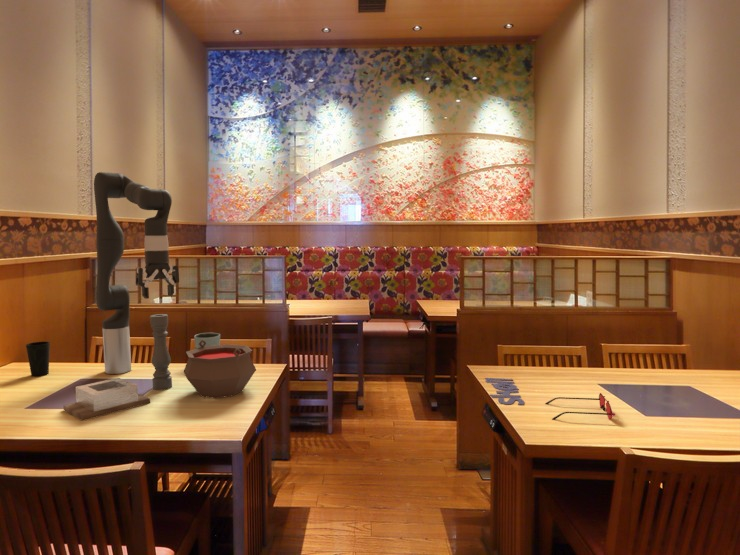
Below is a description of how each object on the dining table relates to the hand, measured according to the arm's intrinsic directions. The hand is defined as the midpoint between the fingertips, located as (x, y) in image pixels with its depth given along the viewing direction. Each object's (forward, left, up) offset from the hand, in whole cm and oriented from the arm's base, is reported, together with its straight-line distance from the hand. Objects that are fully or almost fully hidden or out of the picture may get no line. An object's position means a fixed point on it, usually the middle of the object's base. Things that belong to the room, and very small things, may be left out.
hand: (158, 297), depth 182 cm
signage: (+93, +69, -32) cm, 120 cm away
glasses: (+119, +63, -32) cm, 138 cm away
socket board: (+6, -21, -31) cm, 38 cm away
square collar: (+6, -21, -30) cm, 37 cm away
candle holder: (0, 0, -32) cm, 32 cm away
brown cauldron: (+20, +10, -32) cm, 38 cm away
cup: (-53, -21, -32) cm, 65 cm away
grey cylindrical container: (-16, +28, -32) cm, 45 cm away
